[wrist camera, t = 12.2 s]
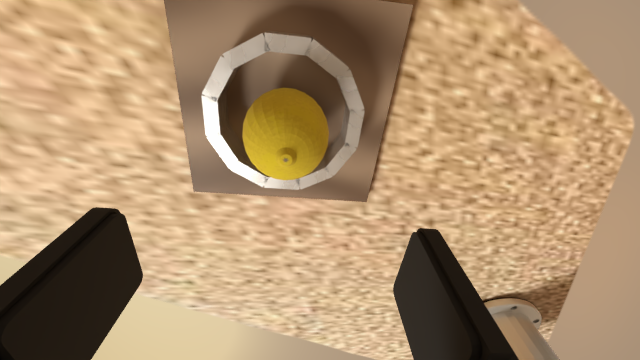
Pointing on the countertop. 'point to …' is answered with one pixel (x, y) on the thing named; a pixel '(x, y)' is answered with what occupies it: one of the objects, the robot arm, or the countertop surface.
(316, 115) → the lemon
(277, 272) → the countertop surface
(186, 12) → the walnut board
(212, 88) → the steel ring
